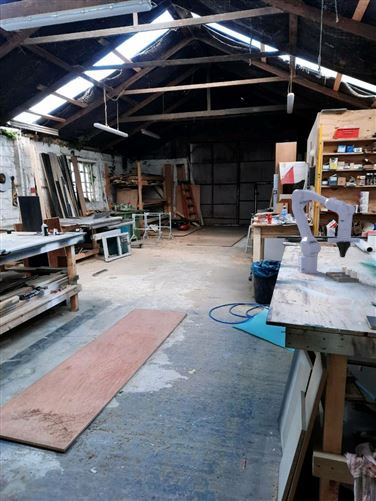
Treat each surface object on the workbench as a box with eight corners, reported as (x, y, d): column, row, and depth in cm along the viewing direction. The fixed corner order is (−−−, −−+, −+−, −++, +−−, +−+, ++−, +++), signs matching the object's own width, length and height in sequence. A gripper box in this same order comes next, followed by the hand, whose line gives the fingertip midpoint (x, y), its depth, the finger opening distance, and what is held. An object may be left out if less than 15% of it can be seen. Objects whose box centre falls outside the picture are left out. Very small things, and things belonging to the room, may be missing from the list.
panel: (337, 281, 151) (337, 278, 151) (325, 274, 165) (326, 271, 165) (359, 281, 151) (359, 278, 151) (345, 274, 165) (345, 271, 164)
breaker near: (352, 277, 151) (353, 272, 151) (350, 276, 153) (350, 271, 153) (356, 277, 151) (357, 272, 151) (354, 276, 153) (355, 271, 153)
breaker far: (342, 272, 162) (342, 266, 161) (340, 271, 164) (340, 265, 164) (346, 272, 162) (346, 266, 161) (344, 271, 164) (344, 265, 164)
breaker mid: (347, 275, 156) (347, 269, 156) (345, 273, 159) (345, 268, 158) (351, 275, 156) (351, 269, 156) (349, 273, 159) (349, 268, 158)
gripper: (332, 230, 151) (330, 258, 153) (364, 230, 150) (361, 258, 152) (326, 228, 158) (324, 255, 160) (356, 228, 157) (354, 255, 159)
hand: (342, 257), depth 157 cm, fingers closed
